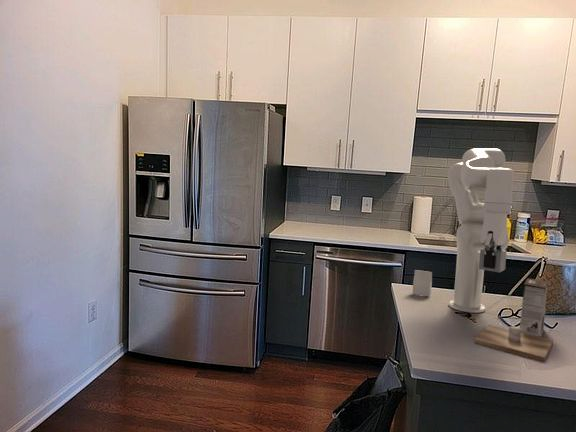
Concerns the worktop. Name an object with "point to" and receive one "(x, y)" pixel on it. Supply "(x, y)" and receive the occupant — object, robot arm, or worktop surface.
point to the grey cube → (499, 261)
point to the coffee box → (533, 307)
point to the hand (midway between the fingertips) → (492, 265)
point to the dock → (515, 342)
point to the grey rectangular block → (422, 283)
